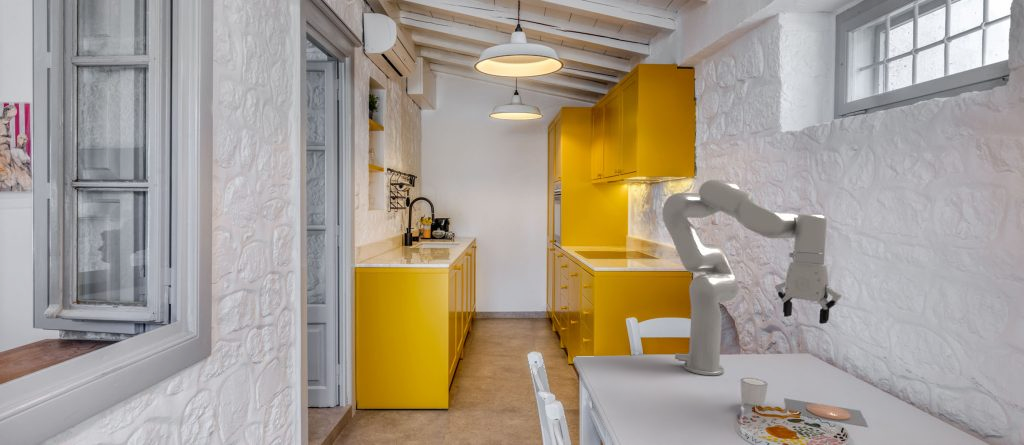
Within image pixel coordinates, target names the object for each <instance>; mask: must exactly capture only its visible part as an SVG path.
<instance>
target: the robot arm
mask: <svg viewBox="0 0 1024 445" xmlns="http://www.w3.org/2000/svg"><path fill="white" fill-rule="evenodd" d="M719 212H721V213H724V214H726V215H727V216H729V217H732V218H734V219H735V220H736V221H737V222H738V223H739V224H740V225H741V226H743V227H744V228H746V229H747V230H749V231H751V232H753V233H755V234H758V235H760V236H762V237H764V238H768V239H772V240H773V239H794V242H793V244H794V245H793V246H794V247H793V248H794V249H793V252H789V253H788V256H789V258H792V261H790V262H789V265H788V268H787V273H786V278H785V281H784V282H782V283H779V284H776V285H775V286H774V288H775V290H776V292H777V295H778V297H779V298H780V299H781V302H783V306H782V313H783V317H791V316H792V314H793V313H792V312H793V302H792V300H793V299H797V300H804V301H808V302H809V301H811V302H817V303H818V304H819V305H820V306H821V308H820V309H819V318H818V319H819V324H821V325H823V324H827V323H828V321H829V319H830V309H831V308H833V307H834V306H835V305H837V303H838V302H839V301H840V299H841V298H842V295H841V293H839V292H837V291H836V290H835V289H833V288H831V287H829V275H828V267H827V265H826V264H825V254H826V237H827V218H826V217H825V215H822V214H812V213H811V214H810V213H808V214H807V213H805V214H804V213H803V214H800V213H794V212H793V213H792V212H784V211H783V212H782V211H780V212H779V211H771V210H769V209H766V208H764V207H762V206H761V205H757V204H756V203H754V197H753V196H752V195H751V194H750V193H749V192H746V191H743V190H741V189H740V188H739V186H738V185H737V184H736V183H735V182H733V181H730V180H722V179H710V180H707V181H705V182H703V183H702V184H701V185H700V187H699V189H698V192H697V193H696V192H695V193H694V192H677V193H673V194H671V195H670V196H668V197H667V199H666V200H665V202H664V203H663V208H662V220H663V223H664V226H665V228H666V230H667V231H668V234H669V236H670V237H671V239H672V242H673V243H674V247H675V249H676V251H677V254H678V256H679V259H680V261H681V263H682V266H683V267H684V270H686V271H688V272H689V273H695V274H697V273H698V274H699V273H700V274H699V275H696V277H694V278H693V279H692V280H691V282H690V284H689V287H688V288H689V292H688V293H689V299H690V330H689V332H690V333H689V352H688V353H685V354H683V353H677V352H676V353H675V354H674V359H675V360H677V361H679V362H684V363H683V368H684V369H685V370H687V372H691V373H694V374H698V375H702V376H703V375H704V376H720V375H723V374H724V372H725V368H724V366H722V365H720V357H721V356H720V355H721V343H722V342H721V340H722V320H723V319H722V312H721V308H720V304H719V303H723V302H729V301H731V300H733V299H734V298H736V297H737V295H738V293H739V285H738V284H739V283H738V281H737V278H736V276H735V274H734V271H733V269H732V267H731V265H730V262H729V261H728V258H727V256H726V254H725V253H724V251H723V250H722V249H721V247H719V246H718V245H715V244H711V243H704V242H703V241H702V239H701V237H700V236H699V233H698V231H697V228H696V227H695V226H694V225H693V224H692V223H691V221H689V219H688V218H690V219H693V218H695V219H696V218H697V219H701V218H706V217H710V216H712V215H713V214H717V213H719ZM701 273H704V274H701ZM829 295H830V296H832V298H831V300H828V296H829Z"/></svg>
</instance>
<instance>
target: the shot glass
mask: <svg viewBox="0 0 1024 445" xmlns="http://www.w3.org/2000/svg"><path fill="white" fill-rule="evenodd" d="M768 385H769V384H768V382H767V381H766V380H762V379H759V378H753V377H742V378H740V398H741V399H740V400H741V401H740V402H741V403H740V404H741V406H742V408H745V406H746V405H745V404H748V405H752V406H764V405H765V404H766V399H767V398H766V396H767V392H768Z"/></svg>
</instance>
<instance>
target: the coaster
mask: <svg viewBox="0 0 1024 445" xmlns="http://www.w3.org/2000/svg"><path fill="white" fill-rule="evenodd" d="M834 406H835V405H829V404H824V403H823V404H822V403H817V404H810V405H807V411H809V412H810V413H812V414H814V415H816V416H819V417H822V418H826V419H831V420H848V419H850V418H851V415H850V413H849V412H847V411H845V410H843V409H841V408H842V407H841V408H838V407H839V406H835V407H834Z"/></svg>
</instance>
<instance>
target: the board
mask: <svg viewBox="0 0 1024 445" xmlns="http://www.w3.org/2000/svg"><path fill="white" fill-rule="evenodd" d="M810 404H818V403H815V402H809V401H804V400H798V399H797V400H796V399H790V398H784V405H785V411H786V410H794V411H797V412H801V414H802V415H800V416H801V417H806V418H811V419H812V418H813V419H818V420H823V421H829V422H835V423H842V424H847V425H852V426H857V427H864V428H869V425H868V424H867V421H866V419H865V418H864V416H863V414H862V412H861V410H859V409H858V410H857V409H852V408H847V407H839V406H837V407H838V408H841V409H843V410H845V411H847V412H849V413H850V415H851V418H850V419H848V420H831V419H826V418H822V417H819V416H816V415H814V414H812V413H810V412H809V411H807V405H810ZM833 406H834V407H836V406H835V405H833ZM800 416H799V417H800Z"/></svg>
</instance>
